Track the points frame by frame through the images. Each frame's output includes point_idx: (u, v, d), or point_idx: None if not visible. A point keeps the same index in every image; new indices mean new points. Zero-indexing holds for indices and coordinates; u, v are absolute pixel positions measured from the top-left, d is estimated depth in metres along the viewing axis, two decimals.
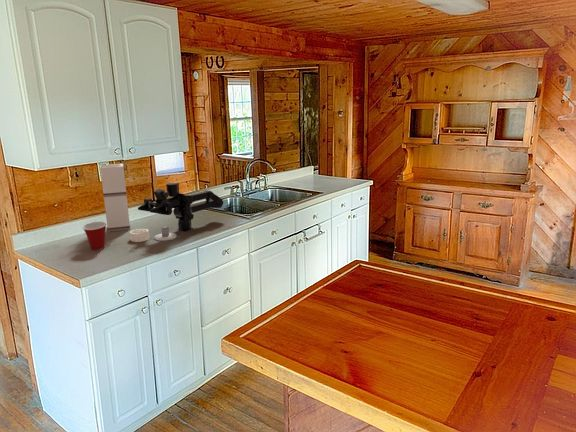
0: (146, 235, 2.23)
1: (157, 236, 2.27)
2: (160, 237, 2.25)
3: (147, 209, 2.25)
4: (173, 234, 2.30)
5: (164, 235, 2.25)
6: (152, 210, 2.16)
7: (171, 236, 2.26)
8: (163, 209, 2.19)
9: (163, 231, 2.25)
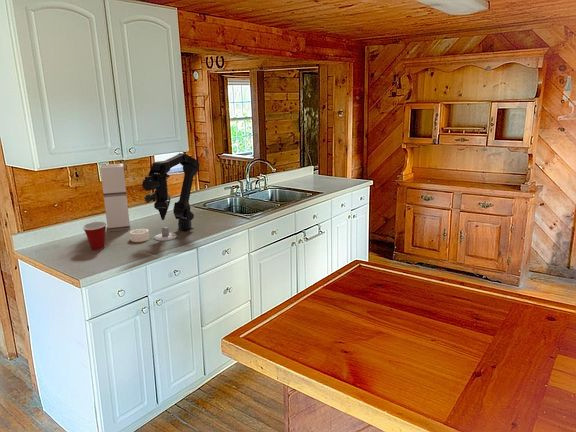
0: (146, 235, 2.23)
1: (157, 236, 2.27)
2: (160, 237, 2.25)
3: None
4: (173, 234, 2.30)
5: (164, 235, 2.25)
6: (162, 217, 2.20)
7: (171, 236, 2.26)
8: None
9: (163, 231, 2.25)
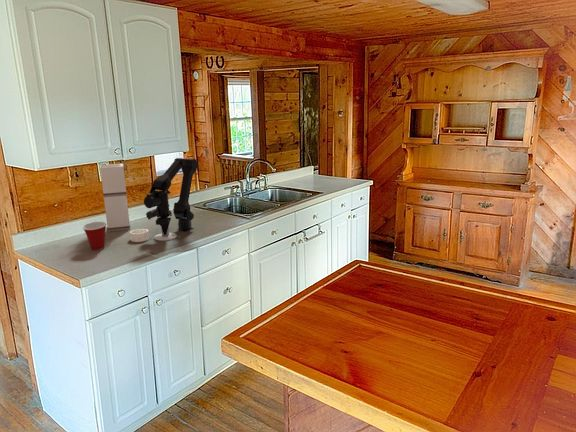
0: (146, 235, 2.23)
1: (157, 236, 2.27)
2: (160, 237, 2.25)
3: None
4: (173, 234, 2.30)
5: (164, 235, 2.25)
6: (164, 232, 2.24)
7: (171, 236, 2.26)
8: None
9: None
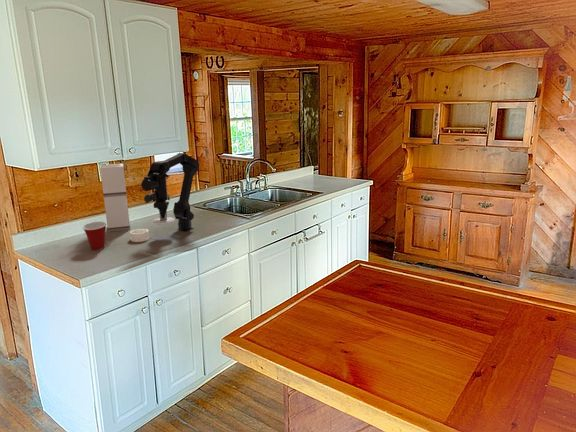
0: (146, 235, 2.23)
1: (155, 220, 2.24)
2: (158, 221, 2.23)
3: None
4: (171, 218, 2.27)
5: (162, 219, 2.23)
6: (162, 216, 2.22)
7: (169, 220, 2.24)
8: None
9: None
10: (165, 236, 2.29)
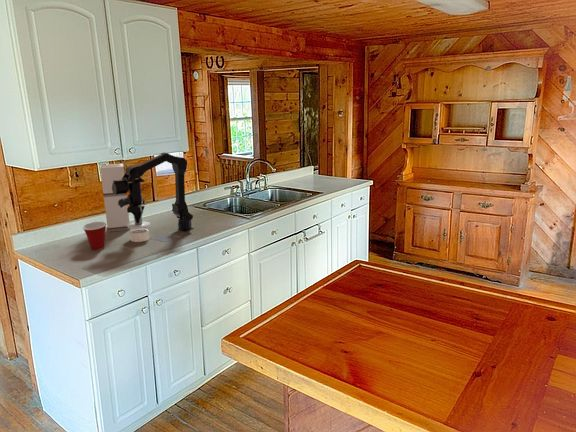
0: (146, 235, 2.23)
1: (130, 225, 2.23)
2: (133, 225, 2.21)
3: (141, 209, 2.24)
4: (147, 223, 2.26)
5: (137, 223, 2.22)
6: (137, 221, 2.20)
7: (144, 224, 2.23)
8: None
9: None
10: (165, 236, 2.29)
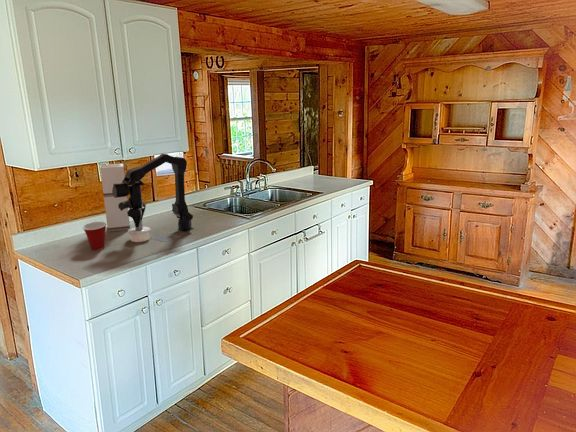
0: (146, 235, 2.23)
1: (130, 230, 2.24)
2: (133, 231, 2.22)
3: (142, 211, 2.27)
4: (147, 228, 2.26)
5: (137, 229, 2.22)
6: (136, 225, 2.19)
7: (145, 230, 2.23)
8: None
9: None
10: (165, 236, 2.29)
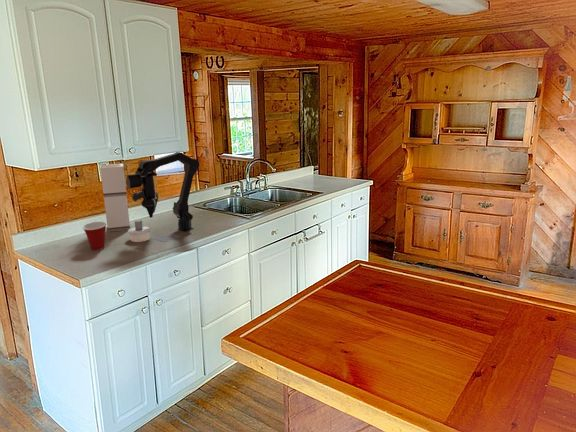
0: (146, 235, 2.23)
1: (130, 230, 2.24)
2: (133, 231, 2.22)
3: (155, 201, 2.31)
4: (147, 228, 2.26)
5: (137, 229, 2.22)
6: (150, 215, 2.23)
7: (145, 230, 2.23)
8: None
9: (136, 225, 2.22)
10: (165, 236, 2.29)
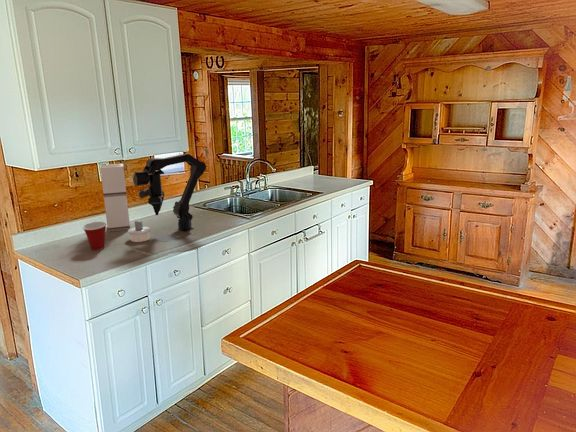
0: (146, 235, 2.23)
1: (130, 230, 2.24)
2: (133, 231, 2.22)
3: (161, 199, 2.33)
4: (147, 228, 2.26)
5: (137, 229, 2.22)
6: (156, 213, 2.25)
7: (145, 230, 2.23)
8: None
9: (136, 225, 2.22)
10: (165, 236, 2.29)
